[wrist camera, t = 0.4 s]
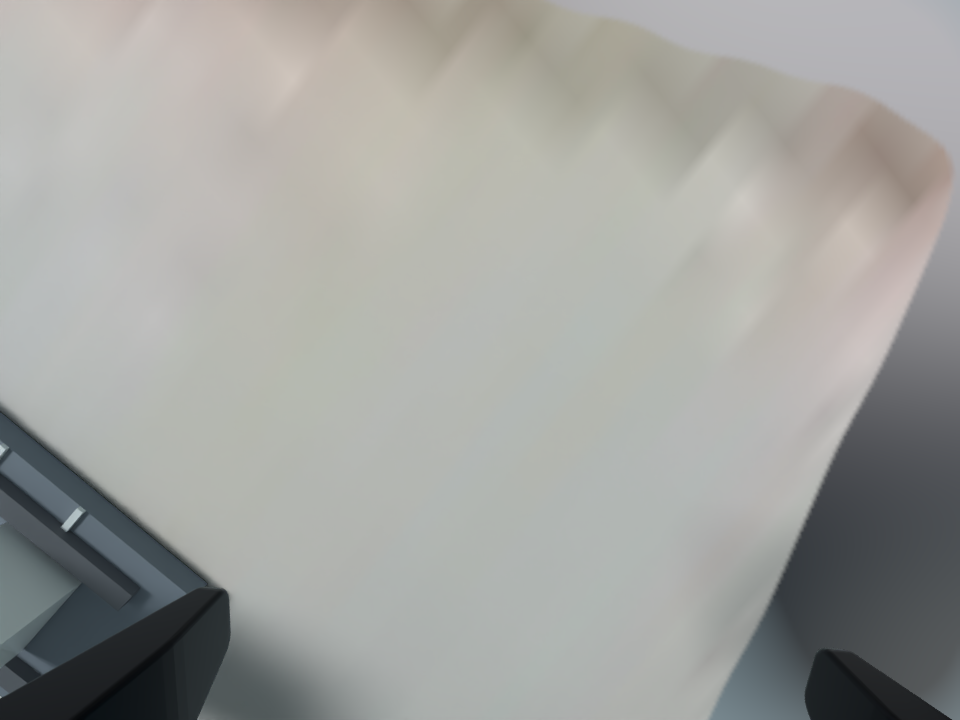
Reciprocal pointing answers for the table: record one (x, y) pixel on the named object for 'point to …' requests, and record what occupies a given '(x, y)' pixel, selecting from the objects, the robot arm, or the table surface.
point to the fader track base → (80, 556)
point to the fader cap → (27, 590)
